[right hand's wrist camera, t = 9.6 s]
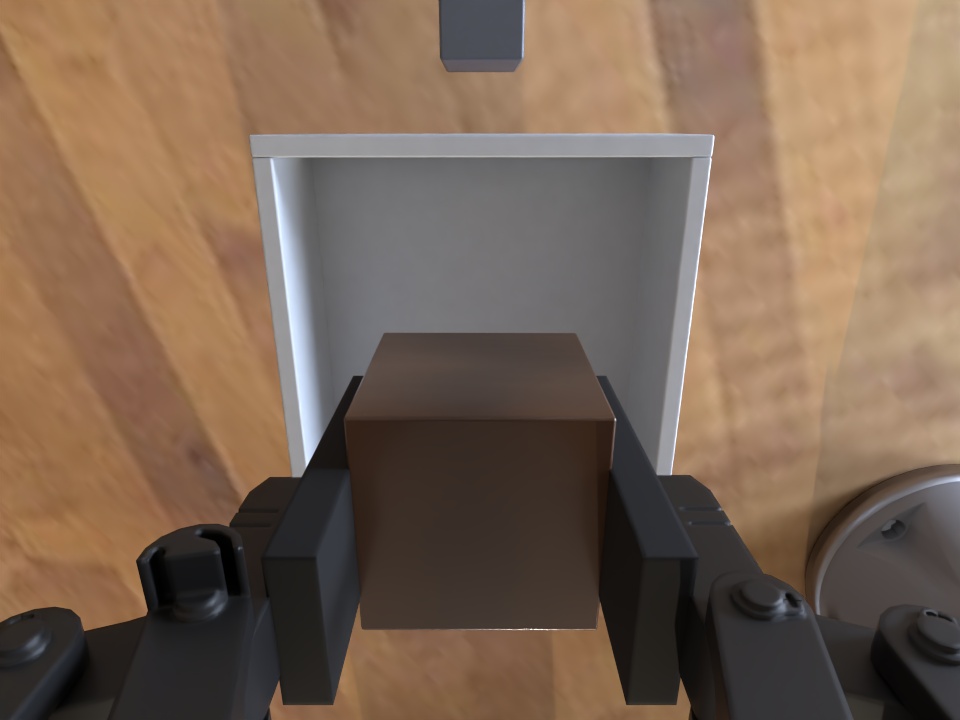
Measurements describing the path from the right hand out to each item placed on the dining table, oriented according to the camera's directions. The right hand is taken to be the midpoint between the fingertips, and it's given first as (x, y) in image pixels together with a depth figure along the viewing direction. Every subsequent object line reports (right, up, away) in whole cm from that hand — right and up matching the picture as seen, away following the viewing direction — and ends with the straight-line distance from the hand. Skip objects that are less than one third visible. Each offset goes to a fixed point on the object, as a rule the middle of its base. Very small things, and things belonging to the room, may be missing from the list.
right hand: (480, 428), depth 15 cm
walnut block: (0, 0, 0) cm, 0 cm away
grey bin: (0, +9, +7) cm, 12 cm away
